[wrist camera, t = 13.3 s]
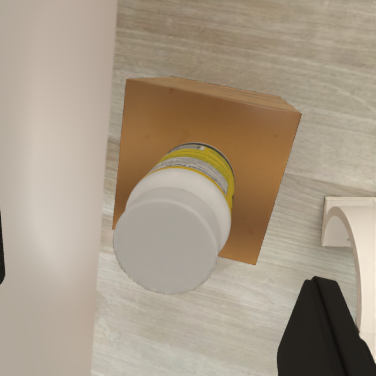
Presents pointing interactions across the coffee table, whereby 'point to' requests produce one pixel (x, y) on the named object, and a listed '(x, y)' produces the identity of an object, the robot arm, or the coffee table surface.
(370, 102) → the coffee table surface
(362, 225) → the headphone stand
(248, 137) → the block
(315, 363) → the robot arm
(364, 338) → the plate
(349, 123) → the coffee table surface
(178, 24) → the coffee table surface
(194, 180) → the supplement bottle
